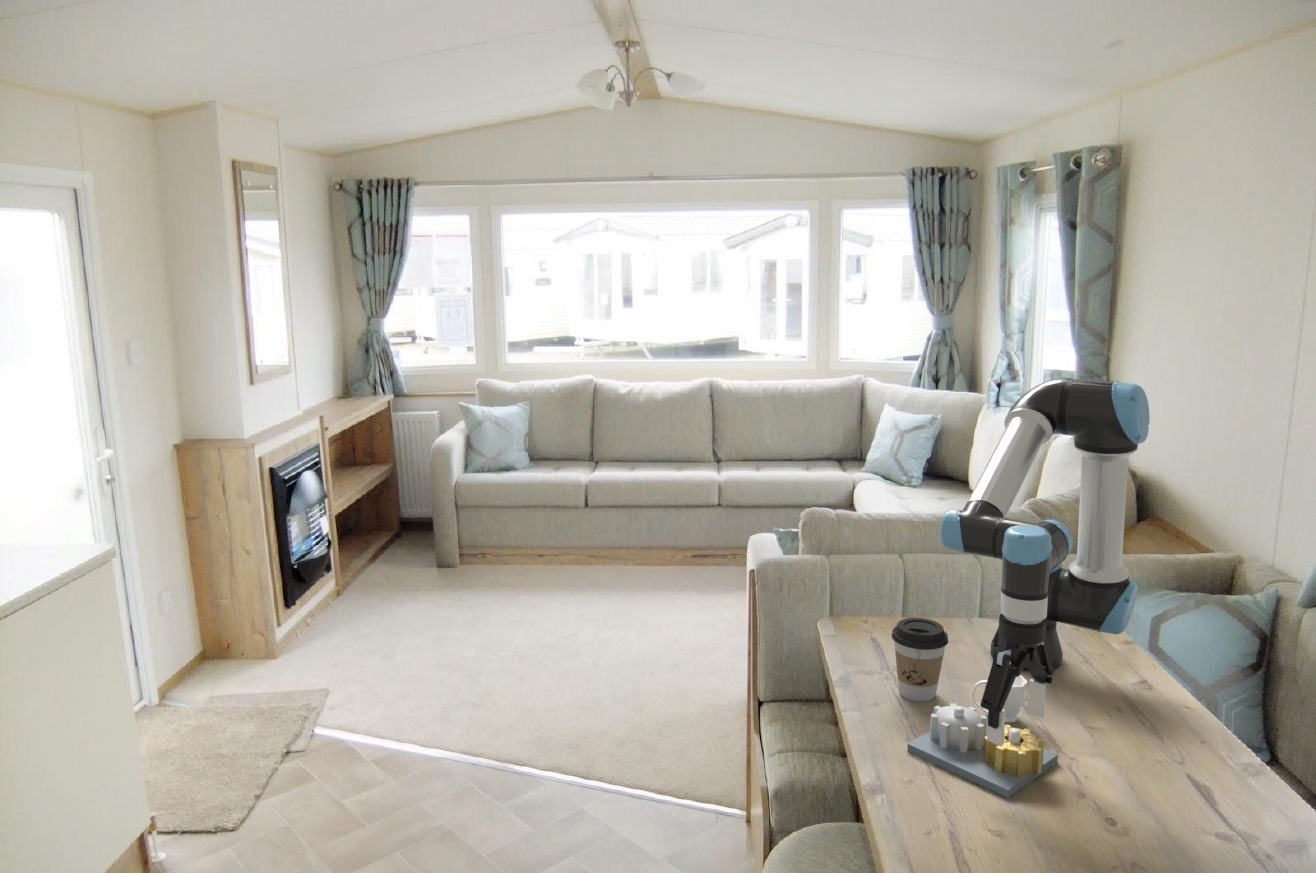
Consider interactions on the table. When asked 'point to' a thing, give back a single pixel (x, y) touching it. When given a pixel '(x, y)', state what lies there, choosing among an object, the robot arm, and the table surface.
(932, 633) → the coffee cup
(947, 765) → the gear board
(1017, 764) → the brass gear
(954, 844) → the table surface
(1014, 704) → the cup
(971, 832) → the table surface
